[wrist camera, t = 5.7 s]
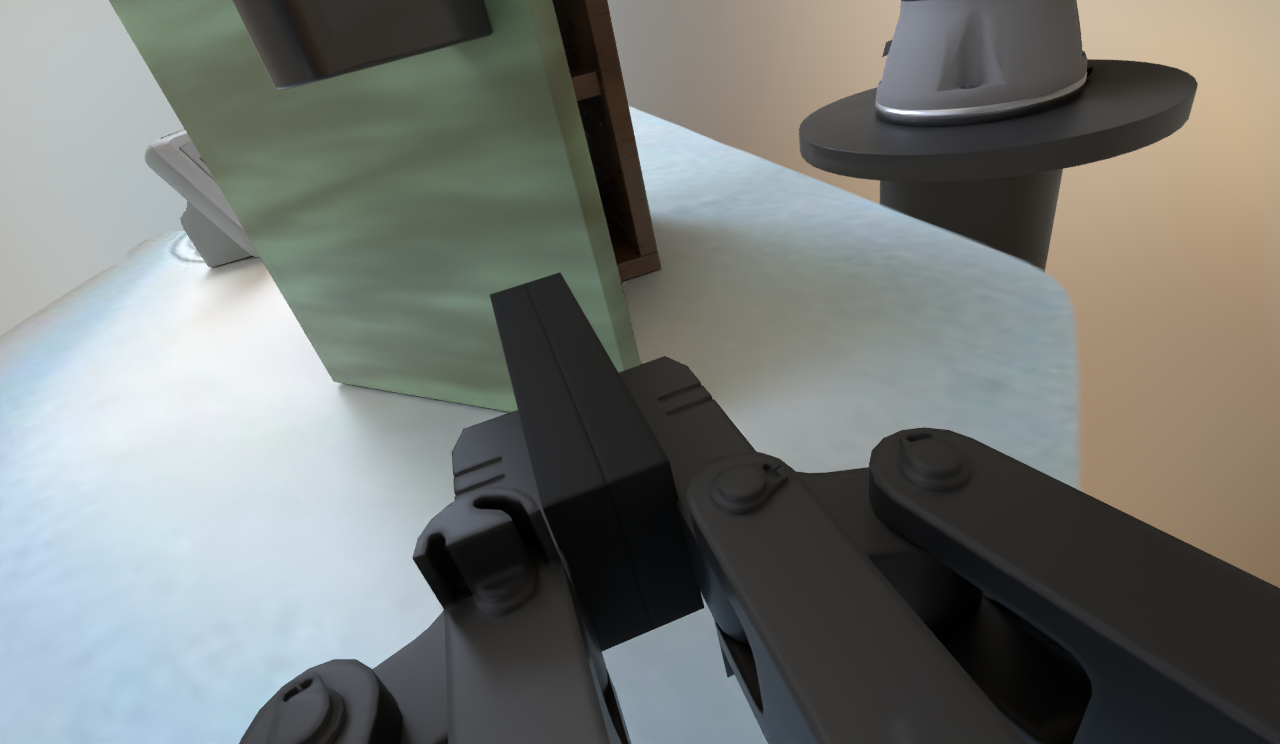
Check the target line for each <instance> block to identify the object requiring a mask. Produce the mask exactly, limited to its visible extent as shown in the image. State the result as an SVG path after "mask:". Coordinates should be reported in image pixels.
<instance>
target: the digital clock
mask: <svg viewBox="0 0 1280 744" xmlns="http://www.w3.org/2000/svg"><path fill="white" fill-rule="evenodd" d="M145 160H146V163H147V164H148V166H149V167H150V168H151V169H153V170H154V171H155V172H156V173H157V174H158V175H159V176H160V177H161V178H162V179H164V180H165V181H166V182H167V183H168V184H169V185H171V186H172V187H173V188H174V189H175V190H176V191H177V192H178V193H180V194H181V195H182V196H183V197H184V198H186V199H187V208H186V211H185V212H184V213H183V215H182V217H181V218H180V219H181V224H182V226H183V228H184V230H185V232H186V233H187V235H188V236H189V238H190V239H191V241H192V242H193V244H194V246H195V247H196V249H197V250H198V252H199V253H200V255H201V256H202V258H203V259H204V261H205V263H206V264H207V265H208V266H209V267H215V266H219V265H223V264H226V263H229V262H233V261H236V260H240V259H243V258H246V257H250V256H255V257H260V256H259V254H258V252H257V251H256V249H255V247H254V246H253V244H252V242H251V240H250V239H249V237H248V235H247V234H246V232H245V230H244V229H243V227H242V225H241V223H240V222H239V220H238V218H237V217H236V215H235V213H234V212H233V210H232V208H231V207H230V205H229V203H228V201H227V200H226V198H225V196H224V195H223V193H222V191H221V190H220V188H219V186H218V184H217V183H216V181H215V179H214V178H213V176H212V174H211V173H210V171H209V169H208V168H207V166H206V164H205V162H204V161H203V159H202V157H201V156H200V154H199V152H198V151H197V149H196V147H195V145H194V144H193V142H192V140H191V139H190V137H189V135H188V134H187V132H186V130H185V129H184V130H181V131H179V132H176V133H173V134H170V135H167V136H165V137H162V138H161V139H160V140H157V141H155V142H153V143H152V144H151V145H149V146H148V148H147V150H146V153H145Z"/></svg>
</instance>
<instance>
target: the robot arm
mask: <svg viewBox="0 0 1280 744" xmlns="http://www.w3.org/2000/svg"><path fill="white" fill-rule="evenodd" d="M886 55H888V56H887V60H886V64H885V68H884V71H883V76H882V80H881V81H880V82H879V84H878V87H877V97H876V117H877V118H878V119H879V120H881V121H883V122H886V123H889V124H894V125H900V126H909V127H951V126H965V125H975V124H984V123H991V122H998V121H1004V120H1010V119H1015V118H1020V117H1025V116H1030V115H1034V114H1038V113H1041V112H1045V111H1048V110H1052V109H1055V108H1058V107H1060V106H1063V105H1065V104H1068V103H1070V102H1072V101H1073V100H1075V99H1077V98H1078V97H1080V96H1081V95H1082V94H1083V92H1084V88H1085V82H1086V77H1088V76H1089V75H1090V74H1091V73H1092V71H1093V67H1092V66H1089V65H1087V57H1086V54H1085V52H1084V51H1082V42H1081V31H1080V22H1079V15H1078V8H1077V2H1076V0H901V11H900V17H899V20H898V24H897V26H896V30H895V33H894V36H893V40H891V41H888V42H886V46H885V49H884V53H883V56H882V57H884V56H886ZM490 298H491V302H492V306H493V311H494V315H495V319H496V323H497V327H498V331H499V335H500V339H501V343H502V347H503V351H504V355H505V359H506V363H507V367H508V371H509V375H510V379H511V383H512V387H513V392H514V396H515V400H516V404H517V408H518V410H516V411H513V412H511V413H508V414H505V415H502V416H499V417H496V418H493V419H491V420H488V421H485V422H482V423H479V424H476V425H474V426H471V427H468V428H465V429H463V431H462V433H461V435H460V437H459V439H458V441H457V443H456V445H455V447H454V449H453V451H452V462H453V475H454V478H453V479H454V493H455V495H456V497H455V501H454V502H452V503H451V504H449V505H448V506H447V507H446V508H445V509H443V510H442V511H441V512H440V513H439V514H437V515H436V516H435V517H434V518H433V519H431V521H430V522H429V523H428V525H427V526H426V528H425V529H424V531H423V532H422V533H421V535H420V536H419V538H418V540H417V543H416V547H415V551H414V554H413V560H414V562H415V563H416V565H417V566H418V568H419V570H420V571H421V573H422V574H423V576H424V578H425V579H426V581H427V583H428V584H429V586H430V587H431V589H432V591H433V592H434V594H435V595H436V597H437V599H438V600H439V602H440V603H441V605H442V607H443V608H444V611H443V612H442V613H441V615H440V616H439V617H438V618H437V619H436V620H435V621H434V622H433V624H432V625H431V626H430V627H429V628H428V629H427V630H425V631H424V632H423V633H422V634H421V635H419V636H418V637H417V638H416V639H415V640H413V641H412V642H411V643H409V644H408V645H407V646H405V647H404V648H402V649H401V650H399V651H398V652H397V653H395V654H394V655H392V656H391V657H389V658H388V659H387V660H385V661H384V662H382V663H381V664H380V665H378V666H377V667H375V668H374V669H371V668H369V667H368V666H366V665H364V664H363V663H361V662H359V661H358V660H356V659H334V660H331V661H329V662H326V663H323V664H320V665H318V666H315V667H312V668H310V669H308V670H306V671H305V672H303V673H302V674H300V675H299V676H297V677H296V678H294V679H293V680H291V681H290V682H288V683H287V684H286V685H284V686H283V687H282V688H281V689H280V690H279V691H278V692H277V693H276V694H275V695H274V696H273V697H272V698H271V699H270V700H269V701H268V702H267V703H266V704H265V705H264V706H263V707H262V708H261V709H260V710H259V712H258V713H257V715H256V717H255V718H254V720H253V721H252V723H251V724H250V726H249V728H248V729H247V731H246V732H245V734H244V736H243V737H242V739H241V741H240V743H239V744H631V741H630V738H629V734H628V731H627V727H626V724H625V721H624V717H623V714H622V710H621V707H620V704H619V700H618V697H617V693H616V690H615V688H614V685H613V683H612V681H611V678H610V676H609V673H608V671H607V669H606V665H605V662H604V658H603V655H602V651H604V650H606V649H609V648H611V647H613V646H616V645H618V644H620V643H623V642H625V641H627V640H630V639H632V638H635V637H637V636H639V635H642V634H644V633H646V632H649V631H651V630H653V629H656V628H658V627H660V626H663V625H665V624H668V623H670V622H672V621H675V620H677V619H679V618H682V617H684V616H686V615H689V614H691V613H693V612H696V611H698V610H700V609H703V608H704V605H703V600H702V596H701V593H702V595H703V597H704V599H705V601H706V603H707V605H708V607H709V609H710V611H711V613H712V615H713V617H714V620H715V625H716V629H717V634H718V638H719V642H720V647H721V651H722V656H723V660H724V664H725V668H726V672H727V677H730V676H732V675H734V674H735V676H736V678H737V680H738V682H739V684H740V686H741V688H742V690H743V693H744V695H745V697H746V699H747V701H748V703H749V705H750V707H751V709H752V711H753V713H754V715H755V717H756V719H757V721H758V724H759V726H760V728H761V730H762V732H763V734H764V736H765V738H766V740H767V742H768V744H1280V588H1278V587H1276V586H1274V585H1272V584H1270V583H1268V582H1265V581H1263V580H1261V579H1259V578H1257V577H1255V576H1253V575H1251V574H1249V573H1247V572H1245V571H1243V570H1241V569H1239V568H1237V567H1235V566H1233V565H1231V564H1229V563H1227V562H1225V561H1223V560H1221V559H1218V558H1216V557H1214V556H1212V555H1210V554H1208V553H1206V552H1204V551H1202V550H1200V549H1198V548H1196V547H1194V546H1192V545H1190V544H1188V543H1185V542H1184V541H1181V540H1179V539H1177V538H1175V537H1173V536H1171V535H1169V534H1167V533H1165V532H1163V531H1161V530H1159V529H1157V528H1155V527H1153V526H1151V525H1149V524H1147V523H1145V522H1143V521H1141V520H1138V519H1136V518H1134V517H1132V516H1130V515H1128V514H1126V513H1124V512H1122V511H1120V510H1118V509H1116V508H1114V507H1112V506H1110V505H1108V504H1106V503H1104V502H1102V501H1100V500H1098V499H1095V498H1093V497H1091V496H1089V495H1087V494H1085V493H1083V492H1081V491H1079V490H1077V489H1075V488H1073V487H1071V486H1069V485H1067V484H1065V483H1063V482H1061V481H1059V480H1057V479H1055V478H1052V477H1050V476H1048V475H1046V474H1044V473H1042V472H1040V471H1038V470H1036V469H1034V468H1032V467H1030V466H1028V465H1026V464H1024V463H1022V462H1020V461H1018V460H1016V459H1014V458H1011V457H1009V456H1007V455H1005V454H1003V453H1001V452H999V451H997V450H995V449H993V448H991V447H989V446H987V445H985V444H983V443H981V442H979V441H977V440H975V439H973V438H970V437H967V436H964V435H961V434H958V433H955V432H953V431H950V430H943V429H933V428H916V429H909V430H901V431H899V432H897V433H894V434H892V435H890V436H888V437H885V438H883V439H882V440H881V441H880V442H879V444H878V445H877V446H876V447H875V448H874V449H873V450H872V453H871V458H870V463H869V467H868V468H860V469H852V470H844V471H836V472H828V473H803V472H796V471H794V470H793V469H792V468H791V467H789V466H788V465H787V464H786V463H784V462H783V461H782V460H780V459H779V458H776V457H773V456H770V455H766V454H763V453H760V452H756V451H755V450H754V448H753V447H752V446H751V445H750V443H749V442H748V441H747V440H746V438H745V437H744V436H743V435H742V433H741V432H740V431H739V430H738V428H737V427H736V426H735V425H734V423H733V422H732V421H731V420H730V418H729V417H728V416H727V415H726V413H725V412H724V411H723V410H722V409H721V407H720V406H719V405H718V404H717V402H716V401H715V400H713V399H712V397H711V395H710V394H709V392H708V391H707V390H706V389H705V387H704V386H702V385H701V383H700V381H699V380H698V379H697V377H696V376H695V375H694V374H693V372H692V371H691V370H690V369H689V367H688V366H686V365H684V364H681V363H679V362H677V361H675V360H672V359H670V358H668V357H666V356H664V357H661V358H658V359H656V360H653V361H650V362H647V363H644V364H641V365H638V366H636V367H633V368H630V369H627V370H624V371H621V372H618V371H617V369H616V367H615V366H614V364H613V362H612V361H611V359H610V357H609V355H608V354H607V352H606V350H605V348H604V347H603V345H602V343H601V342H600V340H599V338H598V336H597V335H596V333H595V331H594V329H593V328H592V326H591V324H590V323H589V321H588V319H587V317H586V316H585V314H584V312H583V310H582V309H581V307H580V305H579V304H578V302H577V300H576V298H575V297H574V295H573V293H572V291H571V290H570V288H569V286H568V285H567V283H566V281H565V279H564V278H563V276H562V274H561V272H559V273H556V274H553V275H550V276H547V277H544V278H540V279H537V280H534V281H531V282H528V283H525V284H521V285H518V286H515V287H512V288H509V289H506V290H503V291H499V292H496V293H493V294H490ZM700 591H701V592H700Z"/></svg>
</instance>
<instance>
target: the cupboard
mask: <svg viewBox="0 0 1280 744" xmlns="http://www.w3.org/2000/svg"><path fill="white" fill-rule="evenodd" d="M552 1H553V5H554V10H555V14H556V18H557V22H558V26H559V30H560V34H561V38H562V42H563V46H564V51H565V55H566V59H567V63H568V67H569V71H570V75H571V79H572V83H573V87H574V92H575V96H576V100H577V104H578V108H579V112H580V116H581V120H582V124H583V128H584V133H585V137H586V141H587V145H588V149H589V153H590V157H591V161H592V165H593V169H594V174H595V178H596V182H597V186H598V190H599V194H600V198H601V202H602V206H603V210H604V215H605V219H606V223H607V227H608V231H609V235H610V239H611V243H612V247H613V251H614V255H615V260H616V264H617V268H618V272H619V276H620V280H621V281H624V280H627V279H630V278H633V277H637V276H640V275H643V274H646V273H649V272H652V271H655V270H658V269H661V265H660V260H659V255H658V252H657V246H656V241H655V236H654V231H653V226H652V221H651V216H650V211H649V206H648V201H647V196H646V191H645V186H644V181H643V176H642V171H641V166H640V161H639V156H638V151H637V146H636V141H635V136H634V131H633V126H632V121H631V116H630V111H629V106H628V101H627V97H626V92H625V87H624V82H623V77H622V72H621V67H620V62H619V57H618V53H617V47H616V42H615V37H614V32H613V27H612V22H611V17H610V12H609V7H608V2H607V0H552Z"/></svg>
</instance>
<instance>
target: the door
mask: <svg viewBox="0 0 1280 744" xmlns="http://www.w3.org/2000/svg"><path fill="white" fill-rule="evenodd" d="M109 1H110V3H111V4H112V6H113V8H114V10H115V11H116V13H117V15H118V16H119V18H120V20H121V22H122V23H123V25H124V27H125V28H126V30H127V32H128V34H129V35H130V37H131V38H132V40H133V42H134V44H135V45H136V47H137V49H138V50H139V52H140V54H141V56H142V57H143V59H144V61H145V62H146V64H147V66H148V67H149V69H150V71H151V73H152V74H153V76H154V78H155V79H156V81H157V83H158V84H159V86H160V88H161V89H162V91H163V93H164V95H165V96H166V98H167V100H168V101H169V103H170V105H171V106H172V108H173V110H174V112H175V113H176V115H177V117H178V118H179V120H180V122H181V123H182V125H183V127H184V129H185V130H186V132H187V134H188V135H189V137H190V139H191V140H192V142H193V144H194V145H195V147H196V149H197V151H198V152H199V154H200V156H201V157H202V159H203V161H204V162H205V164H206V166H207V168H208V169H209V171H210V173H211V174H212V176H213V178H214V179H215V181H216V183H217V184H218V186H219V188H220V190H221V191H222V193H223V195H224V196H225V198H226V200H227V201H228V203H229V205H230V207H231V208H232V210H233V212H234V213H235V215H236V217H237V218H238V220H239V222H240V223H241V225H242V227H243V229H244V230H245V232H246V234H247V235H248V237H249V239H250V240H251V242H252V244H253V246H254V247H255V249H256V251H257V252H258V254H259V256H260V257H261V259H262V261H263V263H264V264H265V266H266V268H267V269H268V271H269V273H270V274H271V276H272V278H273V279H274V281H275V283H276V285H277V286H278V288H279V290H280V291H281V293H282V295H283V296H284V298H285V300H286V302H287V303H288V305H289V307H290V308H291V310H292V312H293V313H294V315H295V317H296V318H297V320H298V322H299V324H300V325H301V327H302V329H303V330H304V332H305V334H306V335H307V337H308V339H309V341H310V342H311V344H312V346H313V347H314V349H315V351H316V352H317V354H318V356H319V357H320V359H321V361H322V363H323V364H324V366H325V368H326V369H327V371H328V373H329V374H330V376H331V378H332V380H333V381H334V382H338V383H344V384H350V385H356V386H362V387H368V388H373V389H379V390H385V391H391V392H397V393H403V394H409V395H414V396H420V397H426V398H432V399H438V400H444V401H450V402H455V403H461V404H467V405H473V406H479V407H485V408H491V409H496V410H502V411H508V412H513V411H516V410H518V408H517V404H516V400H515V396H514V392H513V387H512V383H511V379H510V375H509V371H508V367H507V363H506V359H505V355H504V351H503V347H502V343H501V339H500V335H499V331H498V327H497V323H496V319H495V315H494V311H493V306H492V302H491V298H490V294H493V293H496V292H499V291H503V290H506V289H509V288H512V287H515V286H518V285H521V284H525V283H528V282H531V281H534V280H537V279H540V278H544V277H547V276H550V275H553V274H556V273H559V272H561V274H562V276H563V278H564V279H565V281H566V283H567V285H568V286H569V288H570V290H571V291H572V293H573V295H574V297H575V298H576V300H577V302H578V304H579V305H580V307H581V309H582V310H583V312H584V314H585V316H586V317H587V319H588V321H589V323H590V324H591V326H592V328H593V329H594V331H595V333H596V335H597V336H598V338H599V340H600V342H601V343H602V345H603V347H604V348H605V350H606V352H607V354H608V355H609V357H610V359H611V361H612V362H613V364H614V366H615V367H616V369H617V371H618V372H621V371H624V370H627V369H630V368H633V367H636V366H638V365H641V362H640V358H639V354H638V350H637V346H636V342H635V337H634V333H633V329H632V325H631V321H630V317H629V313H628V309H627V305H626V301H625V296H624V292H623V288H622V284H621V280H620V276H619V272H618V268H617V264H616V260H615V255H614V251H613V247H612V243H611V239H610V235H609V231H608V227H607V223H606V219H605V215H604V210H603V206H602V202H601V198H600V194H599V190H598V186H597V182H596V178H595V174H594V169H593V165H592V161H591V157H590V153H589V149H588V145H587V141H586V137H585V133H584V128H583V124H582V120H581V116H580V112H579V108H578V104H577V100H576V96H575V92H574V87H573V83H572V79H571V75H570V71H569V67H568V63H567V59H566V55H565V51H564V46H563V42H562V38H561V34H560V30H559V26H558V22H557V18H556V14H555V10H554V5H553V1H552V0H109Z"/></svg>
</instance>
